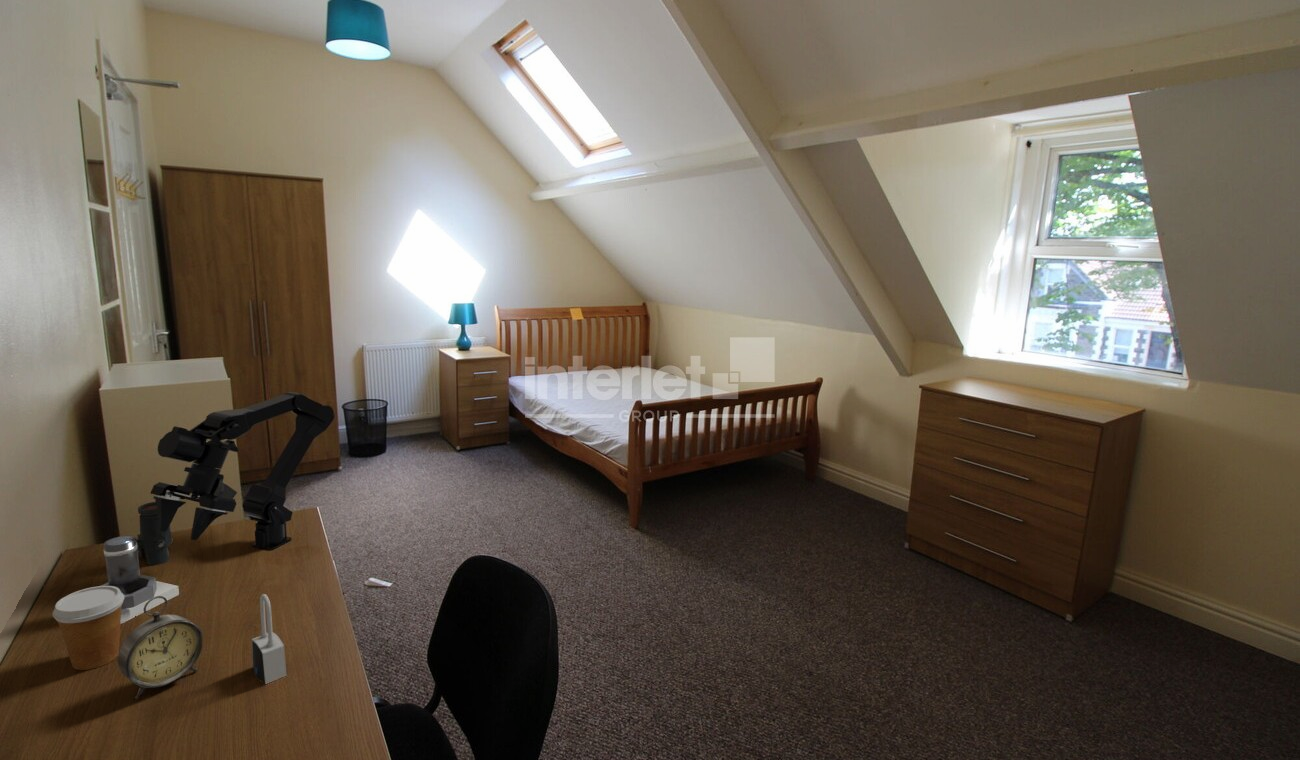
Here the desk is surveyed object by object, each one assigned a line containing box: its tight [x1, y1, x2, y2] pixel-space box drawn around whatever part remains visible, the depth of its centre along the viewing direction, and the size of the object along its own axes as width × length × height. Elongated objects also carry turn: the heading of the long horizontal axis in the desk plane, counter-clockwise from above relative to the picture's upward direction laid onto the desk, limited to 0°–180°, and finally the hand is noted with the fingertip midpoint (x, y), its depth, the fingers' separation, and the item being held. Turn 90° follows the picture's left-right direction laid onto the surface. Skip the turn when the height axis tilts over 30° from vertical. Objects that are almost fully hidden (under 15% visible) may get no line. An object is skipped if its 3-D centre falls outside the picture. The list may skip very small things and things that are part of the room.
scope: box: [136, 501, 174, 566], centre depth 147 cm, size 8×14×10 cm
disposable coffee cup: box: [52, 585, 124, 671], centre depth 111 cm, size 10×10×12 cm
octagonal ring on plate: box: [100, 574, 180, 625], centre depth 128 cm, size 14×10×4 cm
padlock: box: [251, 593, 287, 685], centre depth 110 cm, size 7×4×15 cm, turn 49°
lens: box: [103, 535, 142, 595], centre depth 127 cm, size 5×5×13 cm
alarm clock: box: [117, 596, 204, 700], centre depth 106 cm, size 11×5×16 cm, turn 148°
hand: (178, 535), depth 137 cm, fingers open, 9 cm apart
